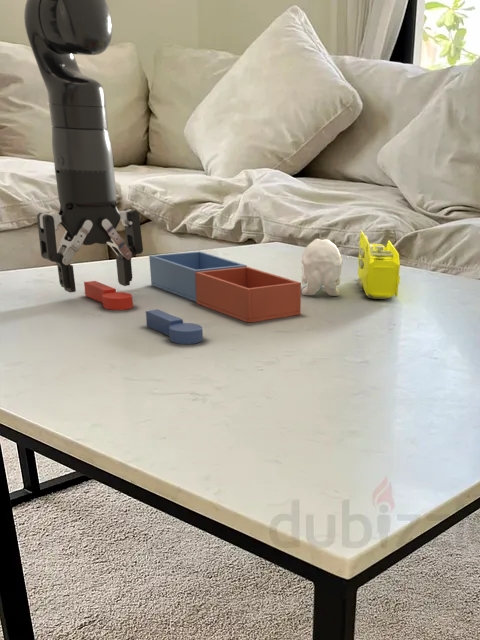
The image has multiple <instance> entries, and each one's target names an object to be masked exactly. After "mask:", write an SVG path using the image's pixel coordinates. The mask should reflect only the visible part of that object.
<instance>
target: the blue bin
mask: <svg viewBox="0 0 480 640" xmlns="http://www.w3.org/2000/svg"><path fill="white" fill-rule="evenodd" d="M148 257H149V272H150V284H151V286H153V287H155V288H158V289H160V290H164V291H166V292H169V293H171V294H174V295H177V296H179V297H182V298H185V299H188V300H190V301H192V302H196V303H197V298H196V277H195V272H201V271H211V270H220V269H230V268H239V267H248V265H247V264H243V263H240V262H237V261H234V260H231V259H228V258H224V257H220V256H217V255H214V254H211V253H206V252H204V251H201V250H199V251H189V252H177V253H166V254H164V253H163V254H155V255H148Z"/></svg>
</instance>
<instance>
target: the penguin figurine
mask: <svg viewBox="0 0 480 640" xmlns="http://www.w3.org/2000/svg"><path fill="white" fill-rule="evenodd" d="M343 263H344V262H343V259H342V254H341V252H340V250H339V248H338V247H337V245H336V244H335V243H334V242H332V241H331V240H329V239H328V238H325V239H320V238H315V239H313V240H312V241H311V242H310V243H309V244H308V245H307V246H305V248H304V249H303V251H302V254H301V264H302V265H301V285H307V286H305V287H303V288H302V289H301V294H302V295H303V296H313V295H314V294H316V293H317V292H318V291H319V290H321V286H323V289H324V291H325V293H326V294H327V295H329V296H331V297H337V296H339V295H340V291H339V290H340V289H338V288H337V287H338V286H339V285H341V274H342V266H343Z"/></svg>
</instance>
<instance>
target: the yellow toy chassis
mask: <svg viewBox="0 0 480 640" xmlns="http://www.w3.org/2000/svg"><path fill="white" fill-rule="evenodd" d="M358 244H359V245H358V246H359V247H358V257H357V265H358V267H357V276H358V277H357V286H358V289H360V290H362V289H363V291H364V293H365V295H366V296H367V297H368V298H370V299H372V300H373V299H374V300H385V299H387V298H392V297H394V296H395V297H396V298H398V296H399V295H398V294H399V285H400V281H401V276H400V270H401V269H400V267H401V266H400V265H401V263H400V262H401V261H400V253H399V252H398V250H397V249H396V247H395V246H394V245H393V244H392V242H391V240H388V241H387V244H386V246H385V245H383V244H381V243H380V244H379V243H370V242H369V237H368V236H367V235H366V234H365V233H364V231H362V230H361V231H360V234H359V243H358Z"/></svg>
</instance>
